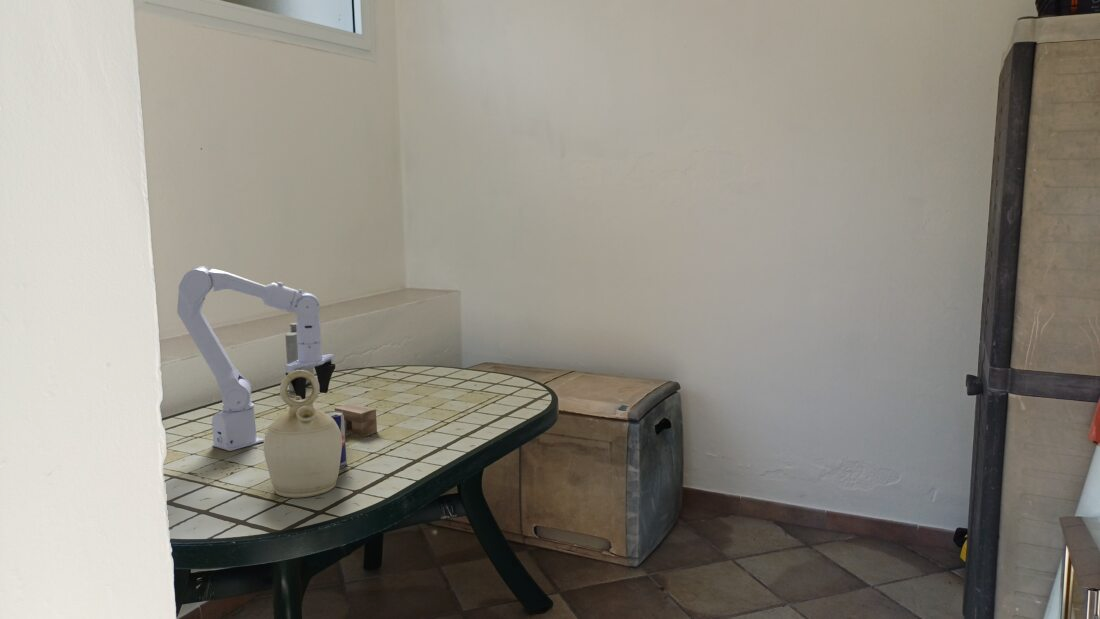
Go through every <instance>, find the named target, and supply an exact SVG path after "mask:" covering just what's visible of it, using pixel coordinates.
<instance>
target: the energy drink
mask: <svg viewBox="0 0 1100 619" xmlns="http://www.w3.org/2000/svg"><path fill="white" fill-rule="evenodd" d="M323 412H324V413H326V414H327V415H329V416H330V417H332V418H333V419H334V420H335V422H336V424H337V425H338V427H339V429H340V432H341V436H342V451H341V460H340V467H339V470H340V469H343V468H345V467H346V465H347V462H348V461H347V449H346V446H347V445H346V438H345V427H344V416H343V413H342V412H340V411H335V410H329V411H323ZM344 466H345V467H344Z"/></svg>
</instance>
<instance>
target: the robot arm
mask: <svg viewBox="0 0 1100 619" xmlns="http://www.w3.org/2000/svg"><path fill="white" fill-rule="evenodd" d="M212 289H213V292H220V291H223V290H231V291H235V292H239V293H241V294H245V295H250V296H253V297H257V298H260V299H261V300H262V301H263V303H264V305H265V306H267V307H268V306H269V307H271V308H274V309H278V310H281V311H285V312H287V313H290V314H291V313H295V314H296V321H297V322H296V323H297V324H296V329H297V346H298V360H297V361H295V362H292V363H290V364H287V363H286V364H285V376H286V375H288V374H289V373H290V372H293V371H295V370H304V369H307V368H311V367H313V369H315V373H316V378H317V380H318V382H319V386H320V390H319V393H321V394H322V393H323V394H328V391H329V386H330V381H331V378H332V376H333V373H334V371H335V369H336V363H335V354H331V353H328V354H323V349H322V348H323V347H322V329H321V328H322V327H321V322H320V321H321V319H320V318H321V316H320V315H319V313H320V311H321V306H320V301H319V298H318V297H317V296H316V295H314V294H313V293H311V292H310V291H304V289H301V288H298V289H294V288H292V287H289V286H285V285H284V283H283V282H281V281H278V282H277V283H276V282H271V283H268V284H267V285H265V284H262V283H260V282H256V281H254V280H250V279H248V278H246V277H242V276H239V275H237V274H233V273H231V272H227V271H225V270H220V269H216V268H211V269H210V267H207V266H202V265H201V266H194V267H193V268H191V269H190V270H188V271H187V272H185V274H184V275H183V277H182V279H181V280H180V282H179V284H178V296H177V297H178V298H177V307H176V311H177V314H178V316H179V318H180V319H181V322H182V323H183V324H184V326H185V328H186V330H187V332H188V333H189V336H190V337H191V339H192V340H193V342H194V343H195V345H196V347H197V349H198V350H199V352H200V353H201V355H202V357H203V359H204V361H205V362H206V364H207V365H208V367H209V369H210V370H211V372H212V374H213V375H214V377H215V381H216V383H217V387H218V389H219V390H220V393H221V401H222V404H223V406H222V407H221V408H222V410H221V411H219V412H217V413H214V414H213V416H212V419H211V428H212V440H213V443H212V444H211V446H213V447H216V448H219V449H222V450H224V451H225V450H226V451H229V452H231V451H235V450H238V449H242V448H245V447H249V446H253V445H256V444H258V443H260V444H261V443H262V442H263V443H264V439H265V438H260V437H258V436H257V429H256V428H257V427H256V414H255V404H254V403H253V402H252V401H251V396H252V393H253V385H252V383H251V382H250V381H249V380H248V379H247V378H246V377H244V376H243V375H242V374H241V373H240V370H238V369H237V368H236V367H235V365H234V364H233V362H232V360H231V358H230V357H229V355H228V353H227V352H226V350H225V348H224V347H223V345H222V343H221V341H220V340H219V338H218V337H217V335H216V333H215V331H214V330H213V327H212V326H211V324H210V323H209V321H208V319H207V318H206V316H205V314H204V312H203V311H202V309H203V304H204V302H205V300H206V296H207V295H209V294H208V293H210V292H211V290H212ZM306 380H307V379H306V378H303V377H299V378H296V379H294V380H292V381H291V384H292V386H293V388H294V391H293V392H294V393H295V397H296V396H300V397H301V398H302V400H303V399H305V398H307V397H306V396H307V394H306V385H307V384H306Z"/></svg>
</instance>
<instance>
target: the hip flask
mask: <svg viewBox="0 0 1100 619" xmlns="http://www.w3.org/2000/svg"><path fill="white" fill-rule="evenodd" d="M296 324H297V322H290V323H289V327H290V331H289V332H286V334H285V337H284V338H285V348H286V351H285V352H286V365H287V364H290V363H292V362H295V361H297V360H298V346H297V329H296ZM304 370H306V371H308V372H310V373H312V374H313V375H314V367H311V368H307V369H304ZM309 383H311V382H310V381H309V380H308V379H307V380H306V385H308V384H309ZM288 391H289V392H295V391H294V388H293V386H292V384H291V382H290V383H289V385H288Z"/></svg>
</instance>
